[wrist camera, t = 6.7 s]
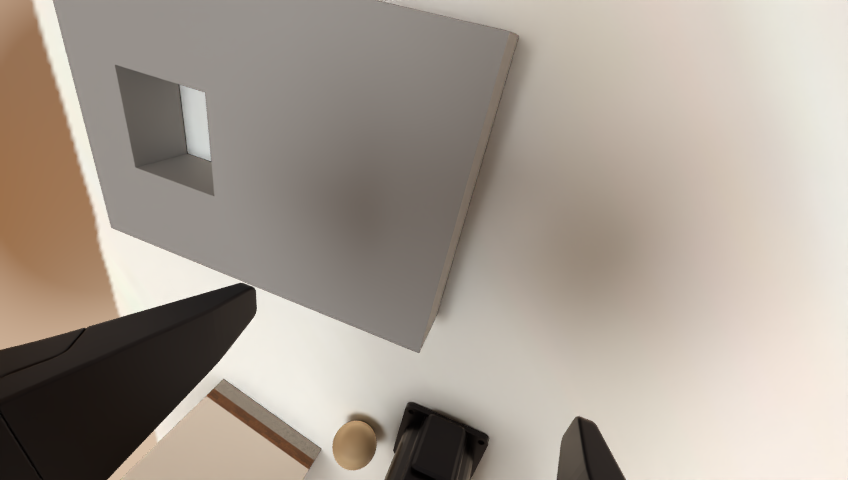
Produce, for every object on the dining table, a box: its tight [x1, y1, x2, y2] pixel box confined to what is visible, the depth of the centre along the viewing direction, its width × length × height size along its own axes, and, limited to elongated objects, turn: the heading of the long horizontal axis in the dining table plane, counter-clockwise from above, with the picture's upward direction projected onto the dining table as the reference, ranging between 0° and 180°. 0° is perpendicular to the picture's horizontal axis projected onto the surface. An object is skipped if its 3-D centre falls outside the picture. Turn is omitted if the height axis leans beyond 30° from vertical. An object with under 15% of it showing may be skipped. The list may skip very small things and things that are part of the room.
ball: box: [332, 421, 377, 470], centre depth 30 cm, size 4×4×4 cm
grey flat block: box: [53, 0, 519, 353], centre depth 20 cm, size 16×22×4 cm
